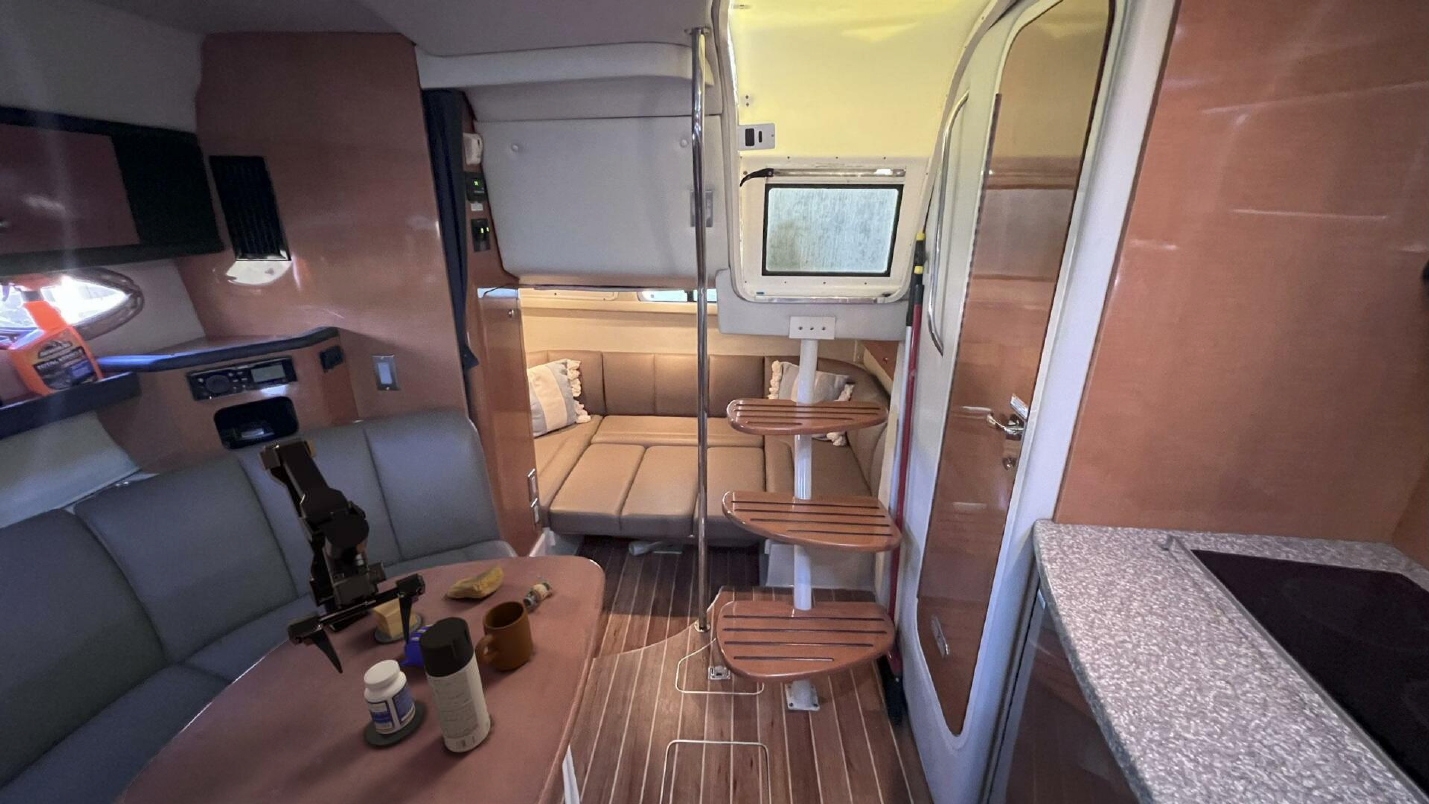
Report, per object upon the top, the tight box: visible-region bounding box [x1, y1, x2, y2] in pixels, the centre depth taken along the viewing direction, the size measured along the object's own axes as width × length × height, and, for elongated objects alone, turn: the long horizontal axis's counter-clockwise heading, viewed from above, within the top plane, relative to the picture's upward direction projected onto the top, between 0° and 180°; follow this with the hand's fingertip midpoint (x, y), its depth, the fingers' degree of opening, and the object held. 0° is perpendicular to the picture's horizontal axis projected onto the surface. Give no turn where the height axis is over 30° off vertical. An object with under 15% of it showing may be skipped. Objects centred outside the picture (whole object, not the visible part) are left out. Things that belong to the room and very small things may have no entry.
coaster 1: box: [374, 612, 422, 644], centre depth 106 cm, size 8×8×1 cm
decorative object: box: [398, 624, 433, 667], centre depth 97 cm, size 10×6×10 cm
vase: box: [522, 573, 555, 612], centre depth 111 cm, size 5×5×6 cm
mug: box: [474, 600, 534, 671], centre depth 95 cm, size 12×8×9 cm, turn 165°
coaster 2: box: [365, 700, 424, 748], centre depth 85 cm, size 8×8×1 cm
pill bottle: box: [363, 659, 415, 734], centre depth 84 cm, size 6×6×10 cm
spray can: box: [419, 616, 491, 753], centre depth 80 cm, size 7×7×20 cm
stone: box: [447, 564, 505, 599], centre depth 116 cm, size 9×5×10 cm
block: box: [372, 598, 417, 638], centre depth 105 cm, size 5×5×5 cm
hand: (375, 657), depth 85 cm, fingers open, 9 cm apart
